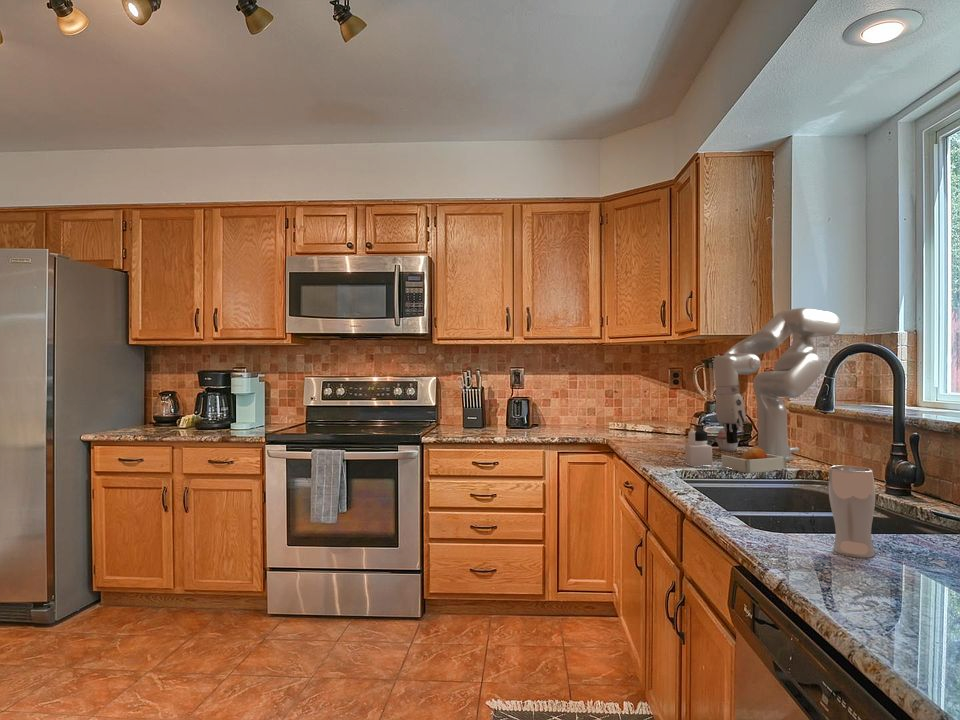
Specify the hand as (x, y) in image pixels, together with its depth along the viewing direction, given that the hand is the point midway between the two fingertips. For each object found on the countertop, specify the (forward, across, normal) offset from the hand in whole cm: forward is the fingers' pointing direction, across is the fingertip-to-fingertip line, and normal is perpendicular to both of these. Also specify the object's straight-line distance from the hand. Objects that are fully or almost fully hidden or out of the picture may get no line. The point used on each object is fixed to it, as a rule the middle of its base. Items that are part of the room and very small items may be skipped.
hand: (732, 442), depth 196 cm
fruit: (+7, -13, +3) cm, 15 cm away
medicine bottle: (+6, 0, +14) cm, 16 cm away
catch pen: (+7, -12, +2) cm, 14 cm away
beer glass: (+4, -86, +47) cm, 98 cm away
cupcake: (+9, +25, -18) cm, 32 cm away
